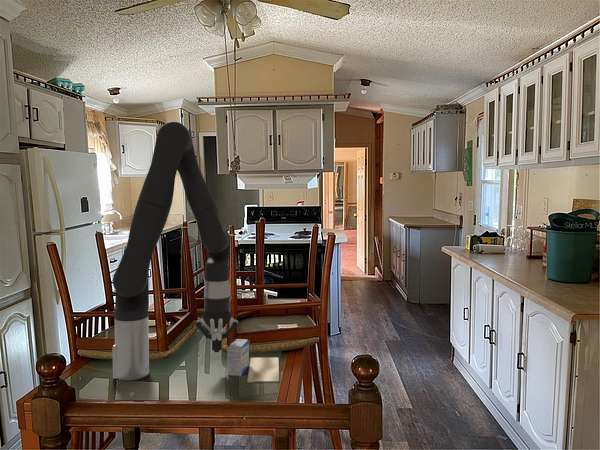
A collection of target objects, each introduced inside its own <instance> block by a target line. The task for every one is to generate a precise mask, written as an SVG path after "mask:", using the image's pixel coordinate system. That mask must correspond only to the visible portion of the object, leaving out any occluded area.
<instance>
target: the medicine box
mask: <svg viewBox="0 0 600 450" xmlns="http://www.w3.org/2000/svg"><path fill="white" fill-rule="evenodd" d="M249 342H250V339H245V338H243V339H242V338H240V339H239V338H235V339H234V341H232V342H231V343H230V345H228V346H227V348H226V349H227V351H226V358H227V361H226V366H227V372H226V373H227V376H232V377H243V375H244V373H246V370H247V369H249V366H250V355H249V354H250V352H249V351H250V343H249Z"/></svg>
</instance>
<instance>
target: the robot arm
mask: <svg viewBox="0 0 600 450" xmlns="http://www.w3.org/2000/svg"><path fill="white" fill-rule="evenodd" d="M147 171H148V172H147V174H146V177H145V179H144V182H143V185H142V187H141V191H140V193H139V196H138V199H137V201H136V205H135V208H134V212H133V215H132V219H131V222H130V223H131V224H130V229H129V234H128V238H127V243H126V247H125V250H124V252H123V255H122V256H121V259H120V262H119V264H118V266H117V268H116V270H115V271H114V274H113V276H112V286H113V288H114V290H115V302H114V305H115V306H114V345H112V379H116V380H118V381H119V380H120V381H125V382H126V381H129V382H130V381H136V380H141V379H143V378H145V377H147V376H148V375H149V374H150V347H149V346H150V343H149V341H150V336H149V334H150V333H149V331H150V330H149V329H150V328H149V325H150V324H149V307H150V302H149V301H150V299H149V298H150V291H149V290H150V286H149V285H150V282H149V281H150V280H149V279H150V278H149V270H150V266H151V261H152V258H153V254H154V250H155V249H156V246H157V245H158V242H159V240H160V238H161V236H162V233H163V231H164V228H165V227H166V224H167V220H168V218H169V214H170V211H171V208H172V204H173V199H174V194H175V193H174V192H175V185H176V184H175V183H176V175H177V173H178V175H179V178H180V180H181V182H182V183H181V184H182V186H183V190H184V193H185V194H184V195H185V197H186V200H187V202H188V205H189V207H190V210H191V212H192V215H193V217H194V219H195V221H196V224H197V229H198V233H199V237H200V239H201V242H202V245H203V247H204V248H205V249H206V250H207V260H206V263H205V266H204V268H205V269H204V288H203V290H204V291H203V293H204V294H203V295H204V297H203V299H204V301H203V303H204V304H203V307H204V311H203V314H202V318H201V319H197V320H196V322H195V326H196V327H197V328H198V329H199V331H200V332H201V333H202V335H203V336H204V337H205V338H206V339H210V340H211V347H212V348H211V350H212V351H213V352H214V353H220V351H222V348H223V340H224V339H228V337H229V336H230V335H231V334H232V332H233V331H234V330H235V328H236V327H237V326H238V324H239V320H238V319H235V318H233V317H232V313H231V286H230V267H229V260H230V254H231V242H232V241H231V235H230V233H229V231H228V230H227V229H226V228H224V227H222V224H221V221H220V220H219V211H218V207H217V205H216V203H215V199H214V198H213V195H212V193H211V191H210V188H209V186H208V185H207V183H206V181H205V180H206V179H205V178H204V176H203V174H202V171H201V168H200V166H199V163H198V160H197V157H196V153H195V147H194V144H193V137H192V135H191V132H190V131H189V130H188V128H187V127H186V126H185V125H183V124H182V123H181V122H179V121H167V122H166V123H164V124H163V125H162V126H161V127H160V128H159V129H158V131H157V134H156V138H155V144H154V149H153V152H152V158H151V163H150V167H149V170H147ZM228 323H229V327H228V328H227V329H226V331H225V332H224V328H225V327H226V326H227V325H228ZM206 325H207V326H208V328H209V329H210V330H209V329H208V328H207V326H206Z"/></svg>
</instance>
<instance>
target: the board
mask: <svg viewBox="0 0 600 450" xmlns="http://www.w3.org/2000/svg"><path fill="white" fill-rule="evenodd" d="M246 381H247V383H254V384H255V383H256V384H257V383H280V366H279V357H250V358H249V367H248V375H247V380H246Z"/></svg>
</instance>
